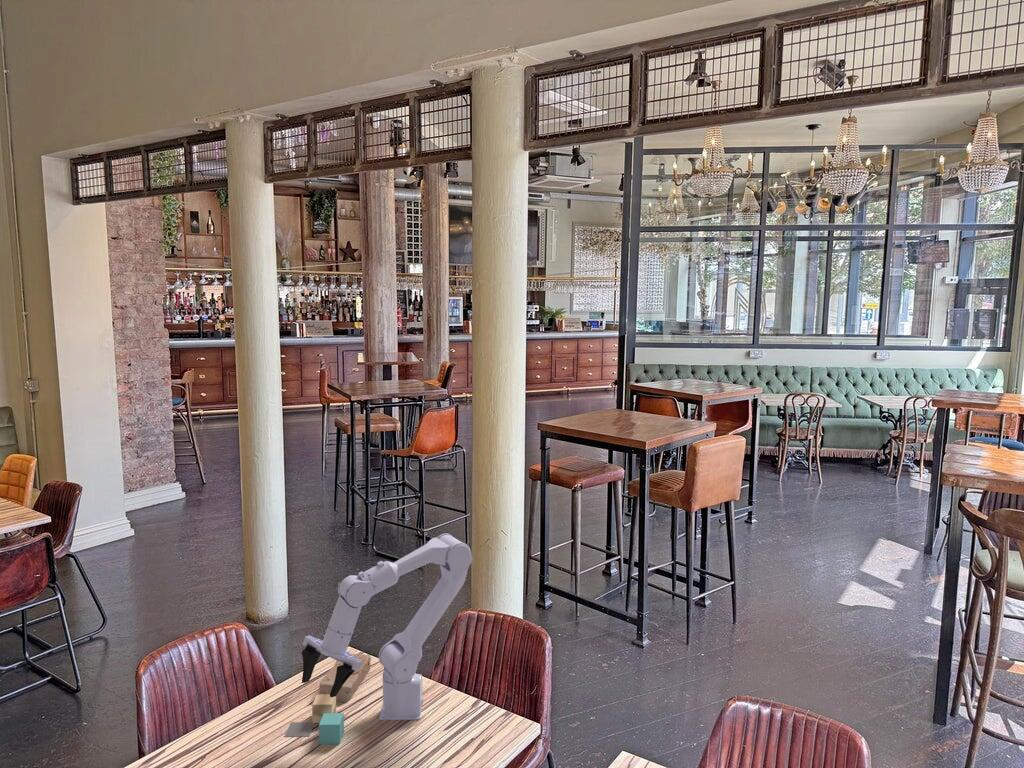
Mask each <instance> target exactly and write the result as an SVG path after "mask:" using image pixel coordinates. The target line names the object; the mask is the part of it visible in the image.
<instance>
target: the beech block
mask: <svg viewBox="0 0 1024 768" xmlns="http://www.w3.org/2000/svg"><path fill="white" fill-rule="evenodd" d="M311 705H312V707H311V711H312V715H311V716H312V717H311V719H312V720H311V722H312V723H315V724H320V721H321V719H322V716H323V714H324V713H337V701H336V696H335V697H330V694H320V693H319V694H316V696H315V698H314V700H313V702H312V704H311Z"/></svg>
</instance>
